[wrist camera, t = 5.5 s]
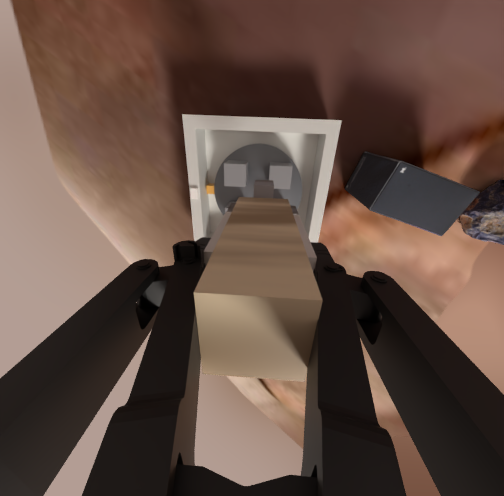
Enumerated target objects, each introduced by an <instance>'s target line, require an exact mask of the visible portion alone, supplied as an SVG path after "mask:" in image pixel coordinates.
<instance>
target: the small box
mask: <svg viewBox="0 0 504 496" xmlns="http://www.w3.org/2000/svg"><path fill="white" fill-rule="evenodd" d="M345 190H346V191H348V192H349V193H350V194H351V195H352V196H354V197H355V198H356V199H357V200H358V201H360V202H361V203H362V204H363V205H364V206H366V207H367V208H368V209H369V210H371V211H373V212H376V213H379V214H382V215H384V216H387V217H390V218H393V219H395V220H398V221H401V222H404V223H407V224H409V225H412V226H415V227H417V228H420V229H423V230H426V231H428V232H431V233H434V234H437V235H439V236H442V235H443V234H444V233H445V232H446V231H447V230H448V229H449V228H450V227H451V226H452V224H453V223H454V222H455V221H456V220H457V218H458V217H459V216H460V215H461V214H462V213H463V211H464V210H465V209H466V208H467V207H468V206H469V204H470V203H471V202H472V201H473V200H474V199H475V197H476V196H477V195H478V194H479V193H480V192H479V191H477V190H475V189H472V188H470V187H467V186H465V185H462V184H460V183H457V182H455V181H452V180H449V179H447V178H445V177H442V176H439V175H437V174H434V173H432V172H429V171H427V170H424V169H422V168H419V167H417V166H414V165H412V164H409V163H406V162H404V161H401V160H397V159H393V158H388V157H385V156H380V155H377V154H373V153H370V152H367V151H365V152H364V153H363V155H362V156H361V159H360V161H359V163H358V165H357V166H356V168H355V170H354V172H353V174H352V176H351V177H350V178H349V180H348V182H347V185H346V187H345Z"/></svg>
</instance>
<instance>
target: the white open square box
mask: <svg viewBox="0 0 504 496" xmlns="http://www.w3.org/2000/svg"><path fill="white" fill-rule="evenodd" d="M182 118H183V128H184V138H185V149H186V159H187V170H188V180H189V190H190V201H191V211H192V221H193V232H194V241H197V240H198V239H200V238H202V237H207V238H211V237H212V236H213V234H214V232H215V230H216V228H217V227H218V225H219V223H220V221H221V219H222V218H223V214H222V213H221V211H220V209H219V207H218V205H217V202H216V199H215V194H207V190H206V185H208V184H209V183H215V178H216V174H217V172H218V169H219V167H220V166H221V164H222V162H223V161H224V160H225V159H226V158H227V157H228V156H229V155H230V154H231V153H233V152H234V151H235V150H237V149H239V148H241V147H243V146H246V145H250V144H259V143H261V144H268V145H272V146H274V147H277V148H279V149H280V150H282V151H283V152H285V153H286V154H287V155H288V156H289V157H290V158H291V159H292V161H293V162H294V163H295V165H296V166H297V169H298V171H299V173H300V176H301V180H302V197H301V202H300V204H299V207H298V209H297V211H298V215H299V216H300V218H301V221H302V223H303V225H304V228H305V230H306V233H307V235H308V237H309V240H310V242H316V243H318V239H319V234H320V229H321V224H322V219H323V213H324V208H325V203H326V198H327V193H328V188H329V183H330V178H331V173H332V168H333V162H334V157H335V152H336V147H337V142H338V137H339V132H340V127H341V122H342V120H321V119H294V118H267V117H240V116H214V115H187V114H182Z"/></svg>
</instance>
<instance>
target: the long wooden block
mask: <svg viewBox="0 0 504 496" xmlns="http://www.w3.org/2000/svg"><path fill="white" fill-rule="evenodd" d="M273 194H274V182H273V180H255V183H254V198H252V197H239V198H238V200H237V202H236V203H231V204H230V206H229V208H228V210H227V212H232V213H231V215H230V217H229V219H228V221H227V223H226V225H225V227H224V229H223V232H222V234H221V236H220V238H219V240H218V242H217V244H216V246H215V248H214V251H213V253H212V255H211V257H210V259H209V261H208V263H207V265H206V267H205V269H204V272H203V274H202V276H201V278H200V280H199V282H198V284H197V286H196V288H195V291H194V300H195V309H196V318H197V327H198V336H199V345H200V354H201V362H202V372H203V374H212V375H224V376H237V377H250V378H263V379H276V380H289V381H302V382H305V379H306V374H307V367H308V363H309V358H310V354H311V349H312V344H313V340H314V335H315V330H316V326H317V321H318V319H319V315H320V310H321V306H322V301H323V300H322V297H321V294H320V291H319V288H318V285H317V282H316V279H315V277H314V274H313V271H312V268H311V265H310V262H309V259H308V256H307V253H306V250H305V247H304V244H303V241H302V239H301V236H300V233H299V230H298V227H297V224H296V221H295V218H294V215H298V211H297V209H296V206H292V205H290V203H289V201H288V199H275V198H273Z"/></svg>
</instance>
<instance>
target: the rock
mask: <svg viewBox="0 0 504 496" xmlns="http://www.w3.org/2000/svg"><path fill="white" fill-rule="evenodd" d="M460 222H461V224H462V229H463V231H464V232H465V233H466V234H467V235H469V236H471V237H472V238H475V239H479V240H482V241H486V242H487V241H490V242H495V243H499V244H502V245H504V180H498V181H497V182H495V184H493V185H491V186H489V187H488V188H487V189H486V190H484V191H483V192H481V193H480V194H479V195H478V196H477V197H476V198H475V199H474V200H473V201H472V202H471V203H470V204H469V206H468V207H467V208H466V209H465V210H464V211H463V213H462V214H461V215H460Z"/></svg>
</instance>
